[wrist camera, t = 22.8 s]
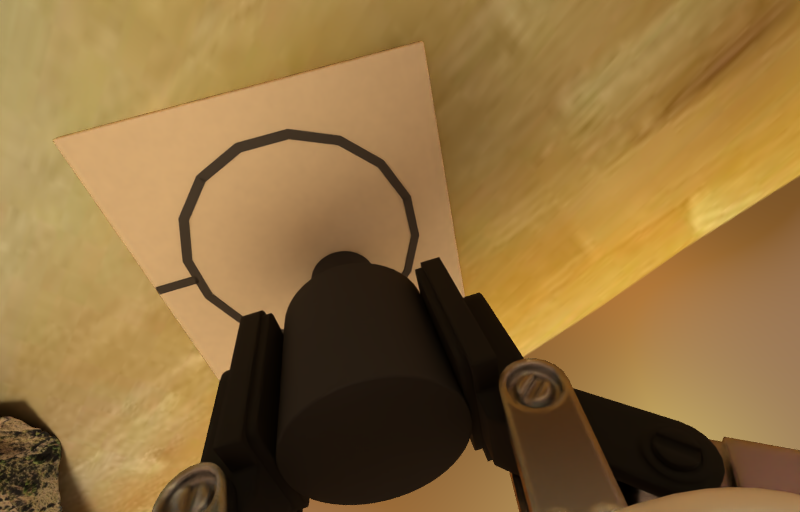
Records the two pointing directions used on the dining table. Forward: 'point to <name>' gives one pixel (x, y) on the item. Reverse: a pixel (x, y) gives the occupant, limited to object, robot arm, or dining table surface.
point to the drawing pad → (274, 188)
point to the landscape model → (28, 468)
